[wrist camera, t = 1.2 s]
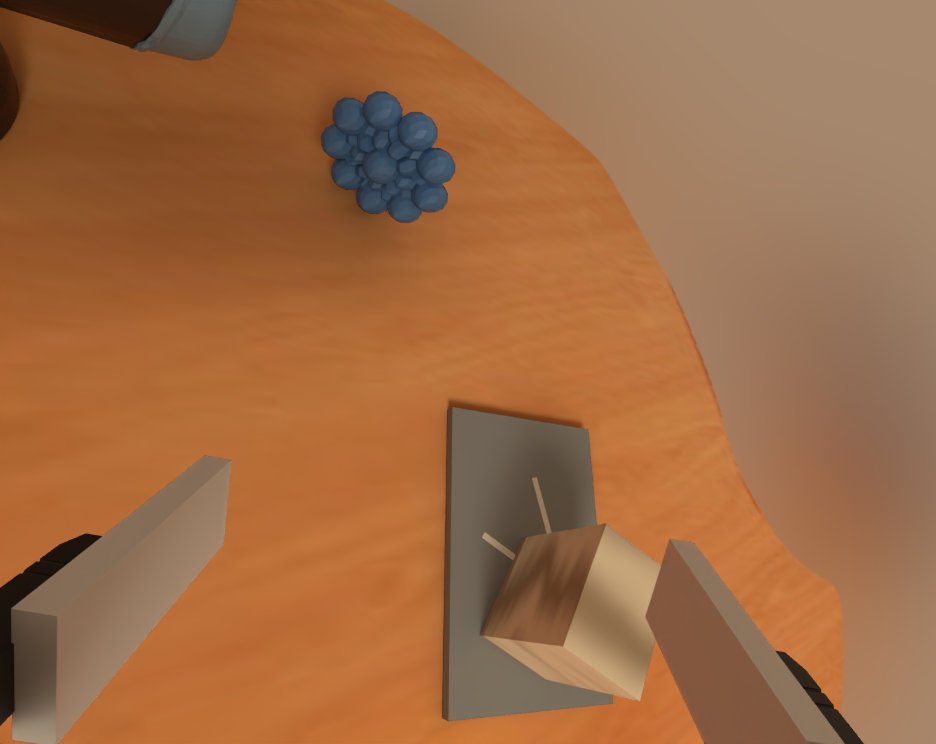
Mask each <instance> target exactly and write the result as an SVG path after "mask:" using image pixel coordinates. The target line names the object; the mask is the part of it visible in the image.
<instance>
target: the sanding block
mask: <svg viewBox="0 0 936 744" xmlns="http://www.w3.org/2000/svg"><path fill="white" fill-rule="evenodd" d="M660 568H661V565H659V564H658V563H657V562H655V561H654V560H653V559H651V558H650V557H649V556H648V555H646V554H645V553H644V552H642V551H641V550H640V549H639V548H637V547H636V546H635V545H633V544H632V543H631V542H630V541H628V540H627V539H626V538H624V537H623V536H622V535H620V534H619V533H618V532H617V531H615V530H614V529H613V528H611V527H610V526H609V525H608V524H601V525H595V526H589V527H583V528H577V529H571V530H565V531H559V532H553V533H547V534H541V535H536V536H530V537H524V538H523V540H522V542H521V544H520V546H519V549H518V551H517V553H516V555H515V558H514V560H513V562H512V564H511V567H510V569H509V571H508V573H507V576H506V578H505V580H504V582H503V585H502V587H501V589H500V591H499V594H498V596H497V598H496V601H495V603H494V605H493V607H492V610H491V612H490V614H489V616H488V619H487V621H486V623H485V625H484V628H483V630H482V632H481V634H480V636H481V637H483V638H484V639H486V640H487V641H489V642H490V643H492V644H493V645H494V646H496V647H497V648H499V649H500V650H502V651H503V652H505V653H506V654H508V655H509V656H510V657H512V658H513V659H515V660H516V661H518V662H519V663H521V664H522V665H523V666H525V667H526V668H528V669H529V670H531V671H532V672H534V673H535V674H536V675H538V676H539V677H541V678H542V679H546V680H550V681H555V682H559V683H563V684H568V685H572V686H576V687H581V688H585V689H590V690H594V691H598V692H603V693H607V694H611V695H616V696H620V697H624V698H629V699H633V700H638V701H640V698H641V694H642V691H643V687H644V683H645V679H646V675H647V671H648V667H649V664H650V660H651V656H652V652H653V648H654V644H655V640H656V639H655V637H654V635H653V633H652V630H651V628H650V626H649V624H648V622H647V620H646V618H645V616H646V612H647V609H648V606H649V603H650V600H651V597H652V593H653V590H654V587H655V584H656V581H657V578H658V574H659V571H660Z"/></svg>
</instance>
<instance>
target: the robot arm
mask: <svg viewBox="0 0 936 744" xmlns="http://www.w3.org/2000/svg"><path fill="white" fill-rule="evenodd" d="M236 1H237V0H0V7H2V8H5V9H9V10H12V11H15V12H18V13H22V14H25V15H28V16H31V17H34V18H38V19H41V20H44V21H47V22H51V23H54V24H57V25H60V26H64V27H67V28H70V29H73V30H76V31H80V32H83V33H86V34H89V35H93V36H96V37H99V38H102V39H106V40H109V41H112V42H115V43H118V44H122V45H125V46H128V47H130V49H133V50H137V51H140V52H143V51H148V50H149V51H153V52H157V53H162V54H166V55H170V56H174V57H178V58H183V59H187V60H192V61H195V60H203V59H207V58H210V57H212V56H213V55H214V54H215V53H217V51H218V50H219V49H220V47H221V46H222V44H223V42H224V40H225V38H226V35H227V32H228V29H229V27H230V23H231V20H232V16H233V13H234V9H235V5H236ZM17 108H18V89H17V85H16V81H15V78H14V75H13V72H12V69H11V66H10V63H9V60H8V57H7V54H6V52H5V50H4V48H3V46H2V44H1V43H0V139H1V138H2V137H3V136H4V135H5V133H6V132H7V131H8V129H9V128H10V127H11V125H12V123H13V121H14V118H15V116H16V113H17ZM231 461H232V460H229V459H223V458H218V457H212V456H207V455H205V456H204V457H202V458H201V459H200V460H198V461H197V462H196V463H195V464H193V465H192V466H191V467H190V468H188V469H187V470H186V471H185V472H183V473H182V474H181V475H179V476H178V477H177V478H176V479H174V480H173V481H172V482H171V483H169V484H168V485H167V486H166V487H164V488H163V489H162V490H160V491H159V492H158V493H157V494H155V495H154V496H153V497H152V498H150V499H149V500H148V501H147V502H145V503H144V504H143V505H142V506H140V507H139V508H138V509H136V510H135V511H134V512H133V513H131V514H130V515H129V516H128V517H126V518H125V519H124V520H123V521H121V522H120V523H119V524H117V525H116V526H115V527H114V528H112V529H111V530H110V531H109V532H107V533H106V534H105V535H104V536H98V535H92V534H84V535H81V536H79V537H76V538H74V539H71V540H69V541H67V542H64V543H62V544H60V545H58V546H57V547H56V548H54V549H53V550H51V551H50V552H49V553H47V554H46V555H45V556H43V557H42V558H40V561H39V562H37V561H36V562H35V563H34V564H32V565H31V566H30V567H28V568H27V569H25V570H24V572H23V574H19V575H17V576H16V577H14V578H13V579H12V580H10V581H9V582H8V583H6V584H5V585H3V586H2V587H1V588H0V726H1V725H2V723H3V722H4V721H5V720H6V719H7V718H8V717H9V716H10V715H11V714H12V740H17V741H24V742H30V743H37V744H58V743H59V742H60V741H61V739H62V738H63V737H64V736H65V735H66V733H67V732H68V731H69V730H70V729H71V727H72V726H73V725H74V724H75V723H76V721H77V720H78V719H79V718H80V716H81V715H82V714H83V713H84V712H85V710H86V709H87V708H88V707H89V706H90V704H91V703H92V702H93V701H94V700H95V698H96V697H97V696H98V695H99V694H100V692H101V691H102V690H103V689H104V688H105V686H106V685H107V684H108V683H109V681H110V680H111V679H112V678H113V677H114V675H115V674H116V673H117V672H118V671H119V669H120V668H121V667H122V666H123V665H124V663H125V662H126V661H127V660H128V659H129V657H130V656H131V655H132V654H133V653H134V651H135V650H136V649H137V648H138V646H139V645H140V644H141V643H142V642H143V640H144V639H145V638H146V637H147V636H148V634H149V633H150V632H151V631H152V630H153V628H154V627H155V626H156V625H157V624H158V622H159V621H160V620H161V619H162V618H163V616H164V615H165V614H166V613H167V611H168V610H169V609H170V608H171V607H172V605H173V604H174V603H175V602H176V601H177V599H178V598H179V597H180V596H181V595H182V593H183V592H184V591H185V590H186V589H187V587H188V586H189V585H190V584H191V582H192V581H193V580H194V579H195V578H196V576H197V575H198V574H199V573H200V572H201V570H202V569H203V568H204V567H205V566H206V564H207V563H208V562H209V561H210V560H211V558H212V557H213V556H214V555H215V554H216V552H217V551H218V550H219V549H220V547H221V546H222V545H223V544H224V534H225V524H226V513H227V503H228V492H229V482H230V471H231ZM645 618H646V620H647V622H648V624H649V626H650V628H651V630H652V633H653V635H654V637H655V639H656V641H657V643H658V645H659V647H660V650H661V652H662V654H663V656H664V658H665V660H666V662H667V665H668V667H669V669H670V671H671V673H672V675H673V677H674V680H675V682H676V684H677V686H678V688H679V690H680V692H681V694H682V697H683V699H684V701H685V703H686V705H687V707H688V709H689V712H690V714H691V716H692V718H693V720H694V722H695V724H696V727H697V729H698V731H699V733H700V735H701V737H702V739H703V741H704V744H864V743H863V742H862V741H861V740H860V738H859V737H858V736H857V734H856V733H855V732H854V731H853V729H852V728H851V727H850V725H849V724H848V723H847V722H846V721H845V719H844V718H843V717H842V715H841V714H840V713H839V712H838V710H836V709H834V705H833V704H832V703H831V701H830V700H829V699H828V698H827V696H826V695H825V694H824V693H821V689H820V687H819V686H818V685H817V684H816V682H815V681H814V680H813V679H812V677H811V676H810V675H809V673H808V672H807V671H806V670H805V669H804V668H803V667H802V666H800V665H799V664H798V663H797V662H796V661H794V660H793V659H792V658H791V657H790V656H789V655H787V654H786V653H785V652H780V651H775V650H774V649H773V647H772V646H771V645H770V643H769V642H768V641H767V639H766V638H765V637H764V635H763V634H762V633H761V631H760V630H759V629H758V627H757V626H756V625H755V623H754V622H753V621H752V619H751V618H750V617H749V615H748V614H747V613H746V611H745V610H744V609H743V607H742V606H741V605H740V603H739V602H738V601H737V599H736V598H735V597H734V595H733V594H732V593H731V591H730V590H729V589H728V587H727V586H726V585H725V583H724V582H723V581H722V579H721V578H720V577H719V575H718V574H717V573H716V571H715V570H714V569H713V567H712V566H711V565H710V563H709V562H708V561H707V559H706V558H705V557H704V555H703V554H702V553H701V551H700V550H699V549H698V547H697V546H696V545H695V543H691V542H685V541H680V540H674V539H669V543H668V546H667V549H666V552H665V555H664V558H663V562H662V565H661V568H660V571H659V574H658V578H657V581H656V584H655V587H654V590H653V593H652V597H651V600H650V603H649V606H648V609H647V612H646V616H645Z"/></svg>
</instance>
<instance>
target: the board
mask: <svg viewBox="0 0 936 744" xmlns="http://www.w3.org/2000/svg"><path fill="white" fill-rule="evenodd" d="M595 525H597V520H596V509H595V498H594V487H593V476H592V465H591V454H590V443H589V432H588V429H584V428H577V427H571V426H565V425H559V424H553V423H547V422H541V421H535V420H529V419H522V418H516V417H510V416H504V415H498V414H492V413H486V412H480V411H473V410H467V409H461V408H455V407H452V408H450V409H449V410H448V411H447V468H446V528H445V588H444V648H443V708H442V718H443V719H445V720H447V721H456V720H465V719H474V718H484V717H493V716H502V715H512V714H521V713H530V712H540V711H549V710H558V709H568V708H577V707H586V706H596V705H605V704H613V696H612V695H611V694H607V693H603V692H598V691H594V690H590V689H585V688H581V687H576V686H572V685H568V684H563V683H559V682H555V681H550V680H546V679H542V678H541V677H539V676H538V675H536V674H535V673H534V672H532V671H531V670H529V669H528V668H526V667H525V666H523V665H522V664H521V663H519V662H518V661H516V660H515V659H513V658H512V657H510V656H509V655H508V654H506V653H505V652H503V651H502V650H500V649H499V648H497V647H496V646H494V645H493V644H492V643H490V642H489V641H487V640H486V639H484V638H483V637H481V636H480V634H481V632H482V630H483V628H484V625H485V623H486V621H487V619H488V616H489V614H490V612H491V610H492V607H493V605H494V603H495V601H496V598H497V596H498V594H499V591H500V589H501V587H502V585H503V582H504V580H505V578H506V576H507V573H508V571H509V569H510V567H511V564H512V562H513V560H514V558H515V555H516V553H517V551H518V549H519V546H520V544H521V542H522V540H523V538H524V537H530V536H536V535H541V534H547V533H553V532H559V531H565V530H571V529H577V528H583V527H589V526H595Z"/></svg>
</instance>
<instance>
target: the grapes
mask: <svg viewBox="0 0 936 744" xmlns="http://www.w3.org/2000/svg"><path fill="white" fill-rule="evenodd" d="M333 121H334V124H335V125H334V124H332V125H330V126H329V127H327V128H325V130H324V132H323V133H322V135H321V145H322V147H323V150H324V151H325V152H326V153H327V154H328V155H329V156H330V157H332V158H334V159H337V160H336V161H335V163H334V164H333V166H332V178H333V180H334V182H335V183H336V184H337V185H338V186H339V187H341V188H343V189H346V190H355V189H357V188H359V187H360V189H359V190H358V192H357V202H358V204H359V206H360V207H361V208H362V209H363V210H364V211H365V212H368V213H370V214H379V213H382V212H384V211H386V210H387V209H388V212H389V214H390V216H391V217H392V218H393V219H394V220H396V221H398V222H401V223H411V222H413V221H415V220H417V219H418V218H419V216H420V215H421V213H422V211H424V212H436V211H439V210H441V209H443V208H444V206H445V205H446V203H447V199H448V193H447V191H446V189H445V187H444V186H443V183H445V182H447V181H449V180H450V179H451V178H452V176H453V175H454V173H455V163H454V161H453V159H452V157H451V155H450V154H449V153H448V152H446V151H444V150H443V149H441V148H431V147H432V146H433V144H434V143H435V141H436V139H437V127H436V125H435V123H434V121H433V120H432V118H430V117H429V116H427V115H425V114H423V113H422V112H410V113H409V114H407V115H405V116H403V118H402V107H401V105H400V103H399V101H398V100H397V98H396V97H394V96H392V95H391V94H389V93H387V92H379V91H376V92H374V93H372V94H371V95H369V96H368V97H367V99H366V101H365V102H364V104H363V103H362V102H360V101H358V100H357V99H355V98H343V99H341V100H339V101H337V103H336V105H335V106H334V108H333Z"/></svg>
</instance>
